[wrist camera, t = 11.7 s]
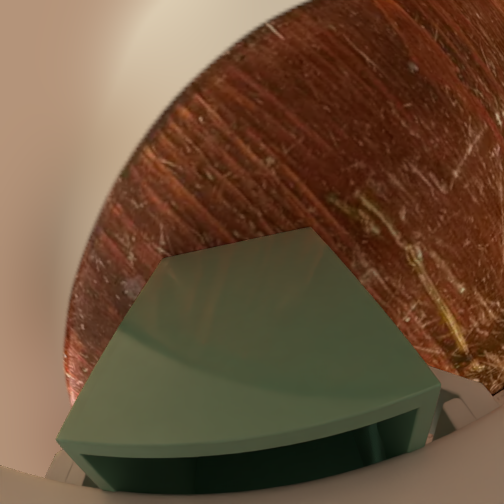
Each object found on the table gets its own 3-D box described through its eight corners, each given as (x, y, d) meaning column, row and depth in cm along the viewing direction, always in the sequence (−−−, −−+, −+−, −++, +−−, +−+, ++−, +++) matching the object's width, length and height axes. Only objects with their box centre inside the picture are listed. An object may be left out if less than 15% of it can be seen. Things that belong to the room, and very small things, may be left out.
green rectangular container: (192, 293, 18) (75, 148, 7) (307, 269, 17) (319, 86, 7) (225, 497, 12) (115, 621, 2) (353, 475, 12) (456, 587, 2)
